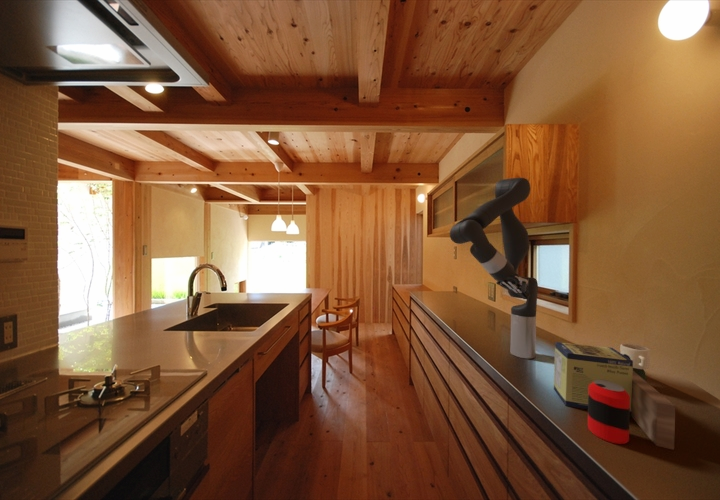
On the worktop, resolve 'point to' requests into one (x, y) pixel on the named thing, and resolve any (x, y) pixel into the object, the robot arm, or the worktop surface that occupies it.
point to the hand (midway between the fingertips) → (527, 297)
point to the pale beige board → (653, 413)
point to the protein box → (588, 371)
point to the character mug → (637, 357)
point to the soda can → (608, 411)
